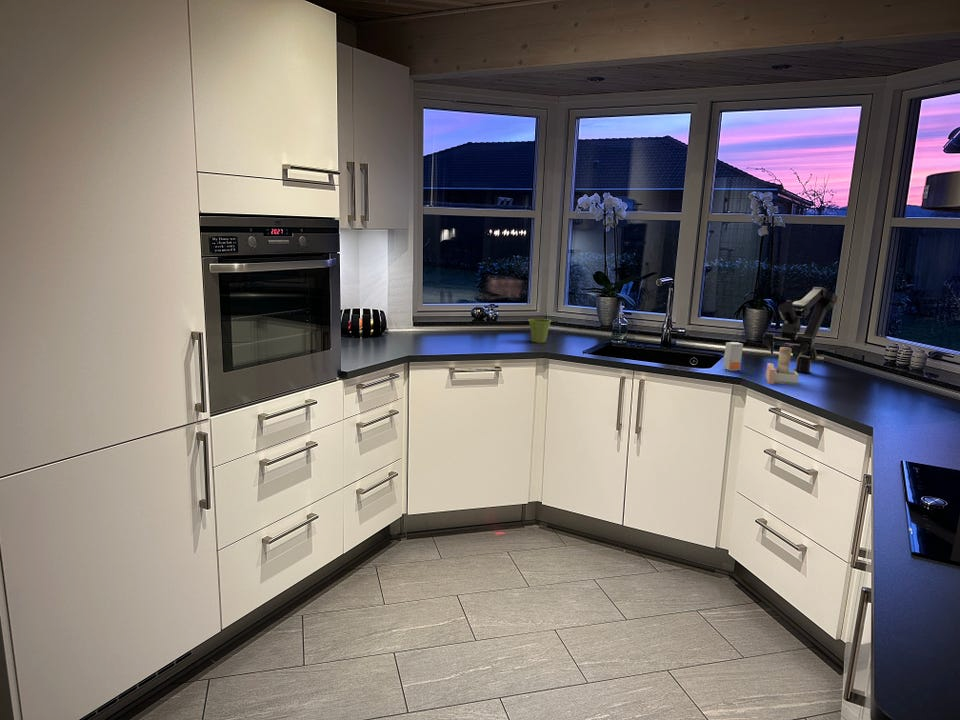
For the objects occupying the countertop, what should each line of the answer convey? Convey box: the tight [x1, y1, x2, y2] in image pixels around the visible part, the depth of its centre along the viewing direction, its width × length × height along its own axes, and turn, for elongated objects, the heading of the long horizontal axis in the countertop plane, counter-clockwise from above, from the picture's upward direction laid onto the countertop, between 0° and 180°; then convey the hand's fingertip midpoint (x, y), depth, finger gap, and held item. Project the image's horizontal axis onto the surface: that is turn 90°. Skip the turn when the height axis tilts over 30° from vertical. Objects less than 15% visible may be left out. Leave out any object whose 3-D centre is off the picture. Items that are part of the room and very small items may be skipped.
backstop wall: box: [765, 362, 776, 385], centre depth 278 cm, size 14×2×6 cm, turn 161°
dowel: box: [776, 346, 792, 374], centre depth 275 cm, size 4×4×13 cm
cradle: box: [774, 368, 800, 386], centre depth 276 cm, size 9×9×4 cm
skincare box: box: [722, 341, 744, 371], centre depth 296 cm, size 6×4×12 cm
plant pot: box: [527, 318, 552, 344], centre depth 346 cm, size 12×12×11 cm
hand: (783, 357), depth 276 cm, fingers open, 9 cm apart
